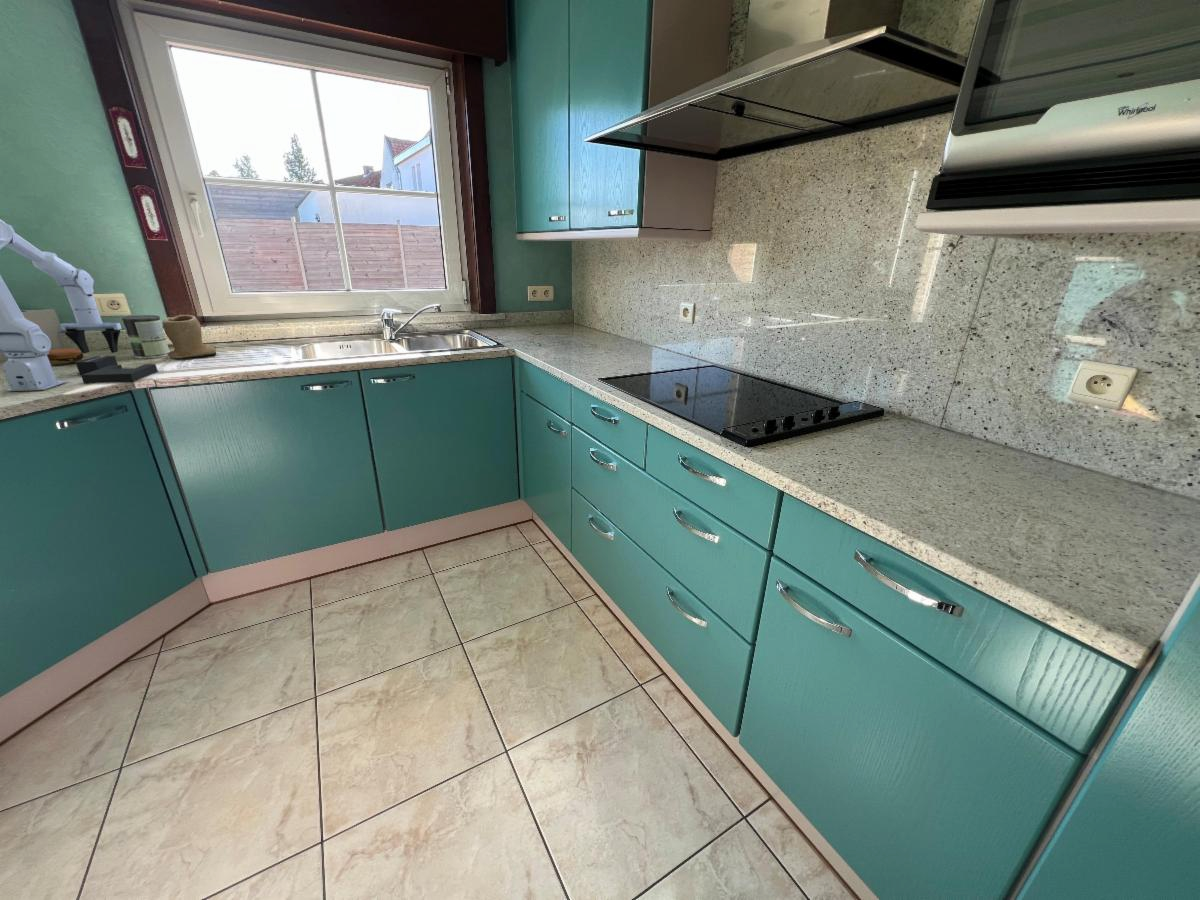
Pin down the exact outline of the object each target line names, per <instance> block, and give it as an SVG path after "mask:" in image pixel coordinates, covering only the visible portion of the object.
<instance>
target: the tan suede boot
mask: <svg viewBox="0 0 1200 900" xmlns="http://www.w3.org/2000/svg"><path fill="white" fill-rule="evenodd" d="M161 324H162V327H163V331H164V334H165V336H166V338H168V340H169V341H170V342H171V344H172V345H173V348H174V349H173V350H171V351H170V352H169V353H168V354H167V355H168V356H167V357H169V358H172V359H186V358H187V359H188V358H196V357H206V356H213V355H216V354H217V347H216V345H215V344H205V343H203V338H202V337H203V336H202V335H203V334H202V325H201V323H200V321H199V320H198V318H197V317H196V316H194V315H191V314H179V315H175V316H173V317H172V316H170V317H169V316H167V317H166V318H164V319H163V320H162V321H161Z"/></svg>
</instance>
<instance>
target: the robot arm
mask: <svg viewBox="0 0 1200 900" xmlns="http://www.w3.org/2000/svg"><path fill="white" fill-rule="evenodd" d="M4 247H5V248H8V249H9V250H12V251H13V252H15V253H17V254H19V255H21V256H22V257H25V258H26V259H28V260H30V261H31V262H32V266H34V268H36V269H38V270H39V271H41V272H43V273H45V274H46V275H48V276H50V277H51V278H52V279H53V280H54V281H55V283H56V284H57V285H58V286H59V287H61V288H63V289H64V292H65V295H66V297H67V299H68V302H69V305H70V308H71V311H72V314H73V315H74V318H75V322H68V323H67V322H66V323H65V322H64V323H60V324H59V326H60V329H61V331H64V332H63V333H64V335H65V336H66V337H68V338H69V339H70V340H71V341H72V342H73V343H74V344H75V345H76V347H78V350H79V351H81V352H82V353H83V354H89V353H90V348H89V345H88V342H87V340H86V339H87V338H86V332H85V331H99V330H101V332H100V333H101V334H102V336H103V337H104V339H105V341H106V342H107V344H108V348H109V350H110V353H113V354H115V353H118V352H119V348H118V346H119V345H118V343H119V337H120V334H121V330H122V325H121V323H120V322H105V321H104V322H103V320H102V316H101V314H100V312H99V308H98V306H97V303H96V300H95V298H94V294H95V293H94V292H95V291H94V283H95V281H94V278H93V277H92V276H91V274H90V273H89V272H88V271H86V270H84V269H83V268H76V267H75V266H73V265H72V264H71V263H69V262H66V261H65V260H63V259H62V258H60V257H59V256H58V254H57V253H55V252H50V251H42V250H40V249H38V248H37V247H36V246H35V245H33V244H32V243H30V242H29V241H27V240H26V239H25V238H23V237H22V236H20V235H19V234H18V233H16V232H15V230H14V227H13V226H11V224H9V223H6V222H5V221H4V220H2V219H0V250H1V249H3V248H4ZM50 350H52V341H51V339H50V337H49V336H48V335H47V334H46V333H45V332H44V331H43V330H42V329H41V327H40V325H38V324H36V323H35V322H33V321H31V320H29V319H27V318H26V317H25V316H24V314H23V312H22V310H21V309H20V307H19V306H18V304H17V302H16V300H15V298H14V297H13V294H12V293H11V291H10V290H9V287H8V286H7V284H6V282H5V281H4V278H3V277H2V275H1V274H0V353H2V354H3V355H4V357H5V358H7V357H8V359H7V360H6V361H4V362H3V364H2V372H3V374H4V376H5V378H6V381H7V383H8V386H9V388H8V389H7V392H25V391H26V392H27V391H28V392H29V391H44V390H47V389H50V388H53V387H56V386H59V385H62V384H65V383H67V380H57V376H56V374H55V372H54V369H53V367H52V365H51V364H50V362H49V359H48V357H47V354H49V351H50Z"/></svg>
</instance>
